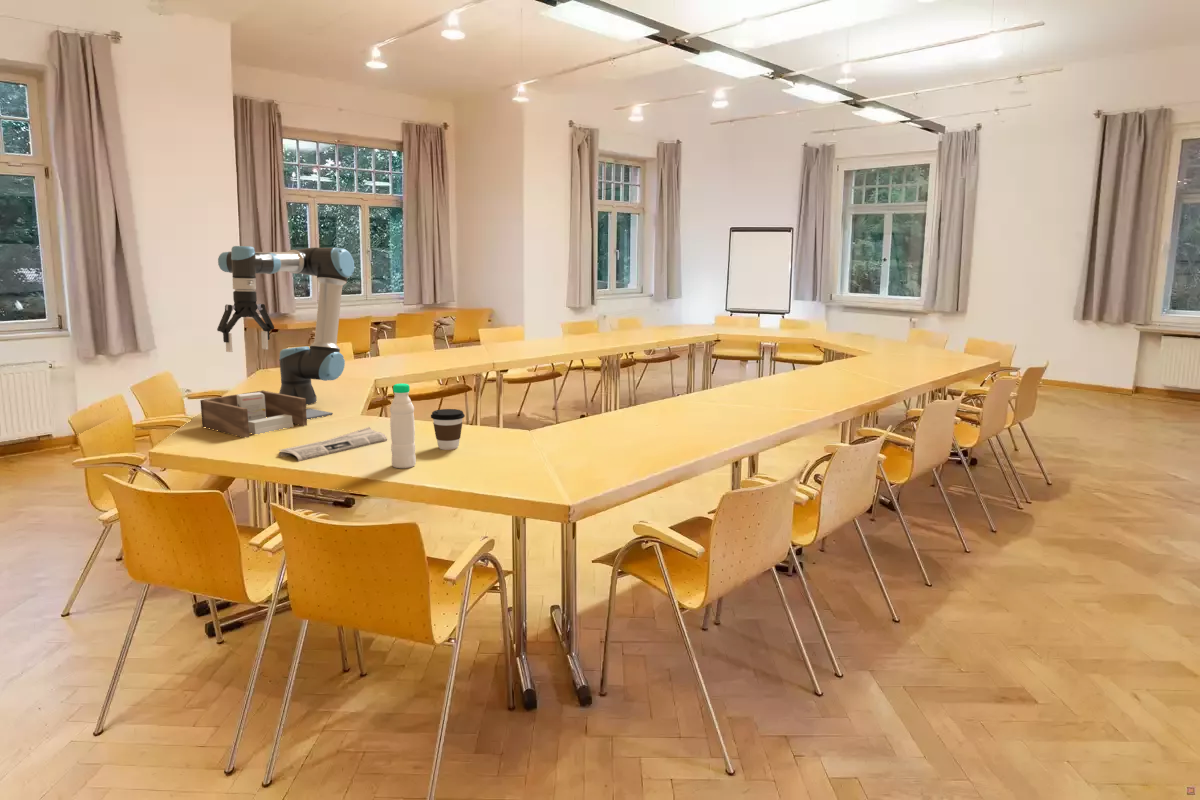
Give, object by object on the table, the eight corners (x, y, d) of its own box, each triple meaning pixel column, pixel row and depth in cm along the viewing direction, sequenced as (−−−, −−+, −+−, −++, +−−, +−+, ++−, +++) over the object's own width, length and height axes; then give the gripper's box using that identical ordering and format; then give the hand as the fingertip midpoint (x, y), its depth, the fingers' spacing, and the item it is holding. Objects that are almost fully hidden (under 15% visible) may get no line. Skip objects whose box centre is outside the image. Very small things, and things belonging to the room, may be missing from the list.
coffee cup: (436, 453, 255) (435, 416, 252) (427, 445, 264) (426, 410, 262) (469, 449, 260) (469, 413, 257) (459, 442, 269) (458, 407, 267)
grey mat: (309, 410, 316) (309, 408, 316) (332, 414, 308) (332, 412, 308) (281, 415, 305) (280, 413, 305) (303, 420, 297) (303, 418, 297)
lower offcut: (286, 427, 289) (286, 420, 289) (293, 428, 287) (293, 422, 286) (248, 434, 277) (248, 428, 276) (255, 436, 275) (255, 429, 274)
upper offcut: (285, 420, 289) (284, 414, 288) (292, 422, 286) (291, 415, 286) (247, 428, 276) (247, 421, 276) (254, 429, 274) (254, 422, 274)
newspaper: (298, 463, 242) (297, 452, 242) (274, 456, 250) (274, 445, 249) (390, 441, 270) (390, 431, 270) (366, 436, 278) (366, 426, 277)
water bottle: (393, 462, 243) (391, 382, 238) (417, 462, 243) (415, 382, 238) (389, 469, 236) (386, 386, 231) (414, 468, 236) (411, 386, 232)
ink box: (263, 423, 292) (260, 391, 290) (267, 425, 289) (265, 393, 286) (238, 426, 287) (235, 394, 285) (242, 428, 283) (239, 396, 281)
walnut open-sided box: (264, 416, 304) (262, 390, 302) (307, 425, 290) (305, 398, 288) (202, 427, 284) (200, 400, 282) (245, 438, 270) (242, 409, 268)
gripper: (216, 291, 268) (219, 353, 271) (282, 290, 288) (285, 349, 291) (204, 290, 272) (207, 352, 275) (270, 289, 292) (273, 347, 295)
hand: (247, 350), depth 283 cm, fingers open, 13 cm apart
